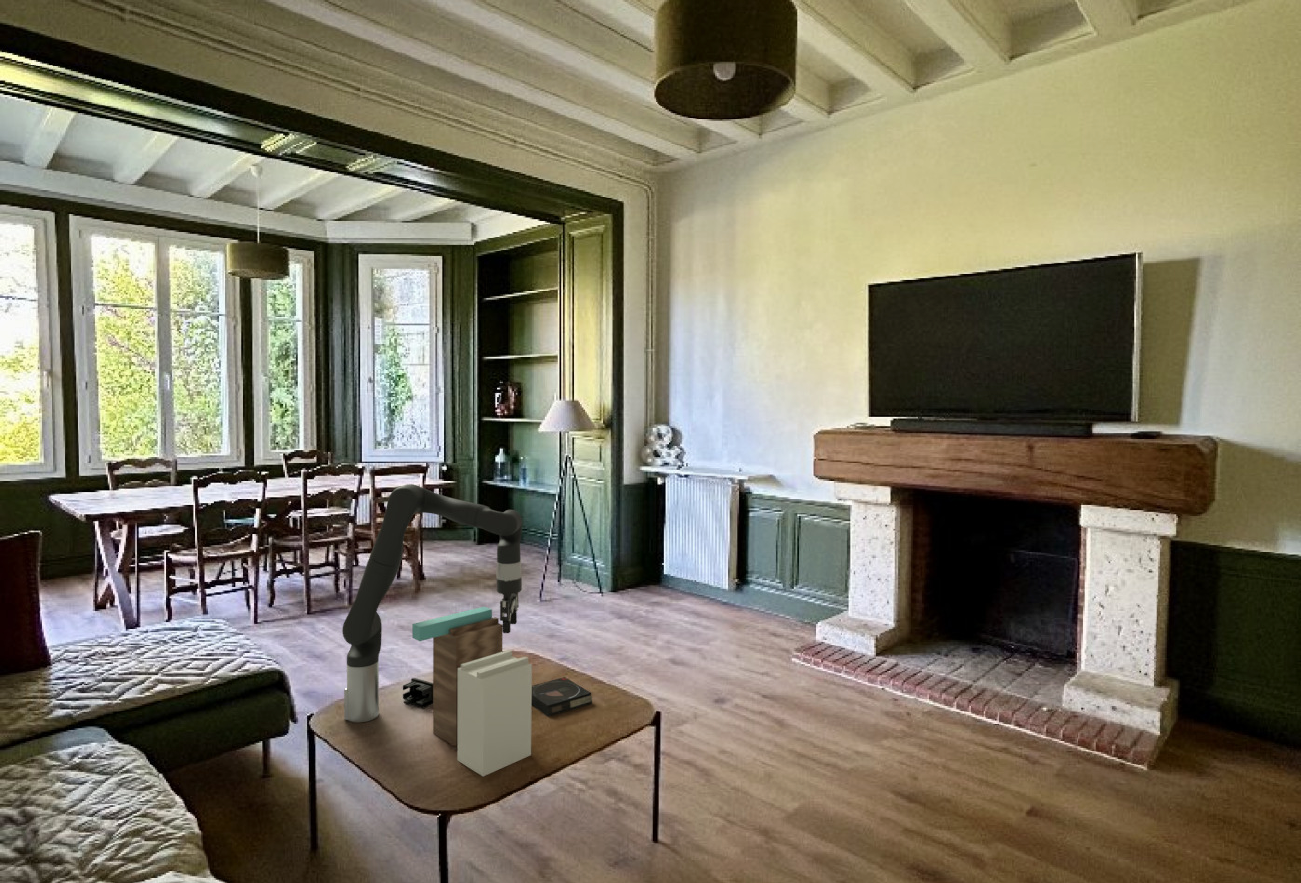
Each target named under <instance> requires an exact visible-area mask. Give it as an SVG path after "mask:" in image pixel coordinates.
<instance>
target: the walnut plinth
mask: <svg viewBox="0 0 1301 883" xmlns="http://www.w3.org/2000/svg"><path fill="white" fill-rule="evenodd" d="M499 620H500V617H499V618H498V617H496V616H495V617H492V618H491V619H487V620H483V621H479V622H475V623H471V624H467V625H463V626H460V627H456V628H452V629H449V634H446V635H442V636H438V637H434V638H432V639H433V640H432V641H433V642H432V644H433V645H432V647H433V648H432V652H433V653H432V655H433V656H432V660H433V661H432V663H433V664H432V666H433V667H432V671H433V672H432V677H433V678H432V683H433V704H432V712H433V713H432V723H433V725H432V729H433V730H432V732H433V734H434V735H435V736H437V737H439V738H440V739H442V740H444V741H445V742H447V743H449V744H450V745H452V746H454V748H458V668H460V667H461V664H464V663H467V662H470V661H474V660H477V659H480V658H483V657H487V656H490V655H493V654H497V653H500V652H503V623H499V622H500V621H499Z"/></svg>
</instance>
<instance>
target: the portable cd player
mask: <svg viewBox="0 0 1301 883" xmlns="http://www.w3.org/2000/svg"><path fill="white" fill-rule="evenodd" d="M592 698H593V697H592V692H591V691H590V690H587V689H585V688H584V687H582V686H580V685H579V684H577V683H575V682H574V681H572V680H570V679H569V678H567V677H565V676H564V677H560V678H556V679H552V680H549V681H544V682H542V683H537V684H534V685H533V684H532V699H531V707H534V708H535V709H537V710H538V711H539V712H541V713H542V714H544V715H545V716H546V717H552V716H555V715H558V714H561V713H565V712H568V711H571V710H574V709H578V708H581V707H584V706H588V705H591V704H593V699H592Z"/></svg>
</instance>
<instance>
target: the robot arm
mask: <svg viewBox="0 0 1301 883" xmlns="http://www.w3.org/2000/svg"><path fill="white" fill-rule="evenodd" d="M417 513H421V514H423V513H424V514H425V513H426V514H433V515H436V516H437V515H438V516H440V517H443V518H446V519H447V520H450V521H452V522H454V523H457V524H461V525H463V526H464V525H465V526H468V527H472V528H478V529H483V530H484V531H485V532H488V533H492V534H495V535H498V536H499V543H498V544H497V549H496V592H497V593H498V594H502V595H503V597H502V599H501V600H500V602H499V605H500V606H499V620H500V621H499V622H502V625H503V632H502V634H510V633H511V632H512V631H511V630H512V629H511V625H516V624H517V621H518V620H517V617H518V615H517V614H518V613H517V612H518V610H519V609H518V608H519V593H520V592H521V591H522V590H523V586H522V585H523V583H522V582H523V581H522V573H523V572H522V565H521V562H522V561H521V539H522V531H523V521H522V517H521V516H522V515H521V514H520V513H519V512H518V511H516V510H515V509H507V510H505V511H503V512H502V511H497V510H494V509H491V508H490V506H487V505H484V504H480V503H475V502H471V501H467V500H463V499H462V500H461V499H459V498H458V499H456V498H453V497H449V496H445V495H443V494H439V493H437V492H434V491H431V490H429V489H426V488H424V487H423V486H422V487H421V486H419V485H417V484H413V483H408V484H404V485H401V486H398V487H396V488H394V489H393V491H391V492H390V494H389V497H388V499H387V503H386V507H385V513H384V516H383V520H382V524H381V526H380V530H379V532H378V534H377V537H376V539H375V541H374V545H373V548H372V550H371V552H370V555H369V558H368V559H367V562H366V566H365V569H364V572H363V575H362V579H361V581H360V584H359V586H358V587H359V588H358V589H357V593H356V596H355V599H354V602H353V604H352V605H351V606H350V607H351V608H350V609H349V611H348V613H347V616H346V618H345V620H344V622H343V624H342V636H343V638H344V640H345V642H346V643H347V644H349V645H350V649H348V650H349V651H348V652H347V655H346V687H345V688H344V690H343V695H344V696H343V700H344V701H343V703H344V704H343V709H344V710H343V711H344V712H343V713H344V715H343V716H344V720H345V721H349V722H352V723H365V722H369V721H372V720H374V719H376V718H377V717H379V714H380V688H379V686H380V684H379V680H380V679H379V677H380V676H379V675H380V674H379V673H380V670H379V669H380V668H379V666H380V665H379V664H380V663H379V661H380V660H379V659H380V658H379V655H380V653H381V650H382V632H383V631H382V629H383V628H382V626H383V625H382V619H381V616H380V615H379V613H378V612H377V611H378V609H379V607H380V604H381V602H382V600H383V599H384V597H385V596H386V594H387V593H388V592H389V590H390V587H391V586H392V584H393V583H394V580H395V579H396V577H397V574H398V572H399V569H400V566H401V563H402V561H403V560H402V559H403V554H404V540H405V534H406V531H407V529H408V526H409V524H410V521H411V520H412V518H413V516H414V514H417Z"/></svg>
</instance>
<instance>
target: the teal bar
mask: <svg viewBox="0 0 1301 883" xmlns="http://www.w3.org/2000/svg"><path fill="white" fill-rule="evenodd" d="M491 618H493V609H492V608H489V607H486V606H481V607H477V608H473V609H470V610H469V609H468V610H465V611H461V612H456V613H452V614H448V615H445V616H444V615H443V616H439V617H436V618H431V619H427V620H424V621H419V622H415V623H414V622H413V623H412V624H411V625H412V628H411V629H412V632H411V633H412V635H411V636H412V639H414V640H416V641H419V642H423V641H427V640H430V639H433V638H434V637H438V636H442V635H446V634H449V629H452V628H456V627H460V626H463V625H467V624H471V623H475V622H479V621H483V620H487V619H491Z"/></svg>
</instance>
